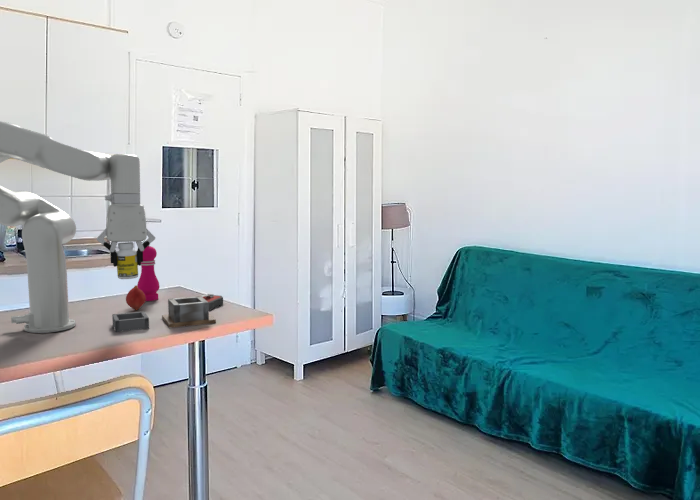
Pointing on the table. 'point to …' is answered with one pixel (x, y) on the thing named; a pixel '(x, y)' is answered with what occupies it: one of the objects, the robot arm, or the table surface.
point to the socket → (188, 312)
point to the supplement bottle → (127, 261)
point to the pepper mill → (148, 275)
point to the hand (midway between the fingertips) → (127, 264)
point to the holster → (130, 321)
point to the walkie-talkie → (213, 300)
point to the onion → (135, 298)
